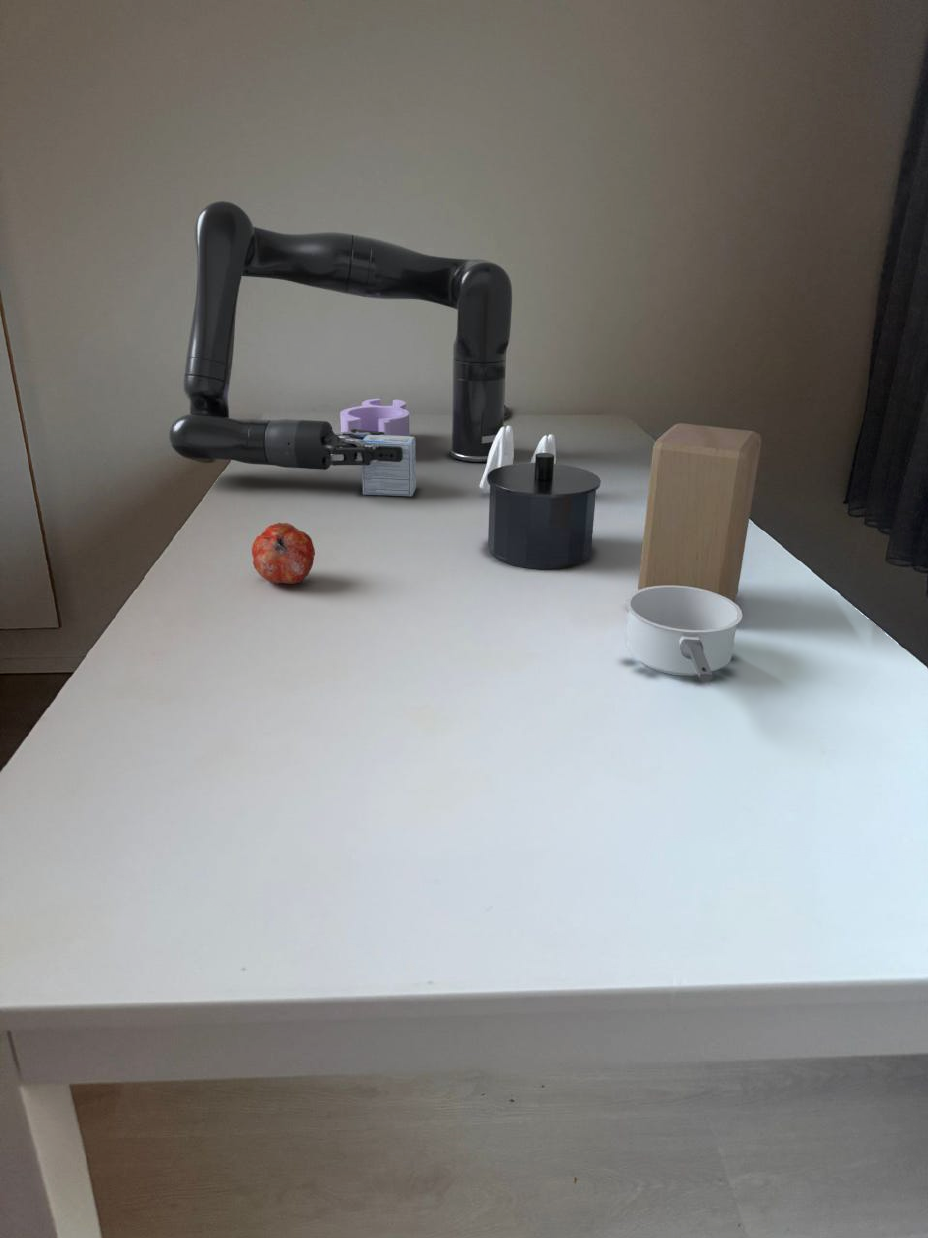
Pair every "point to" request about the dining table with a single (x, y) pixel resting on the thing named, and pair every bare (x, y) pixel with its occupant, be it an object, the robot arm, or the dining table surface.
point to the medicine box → (391, 468)
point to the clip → (377, 418)
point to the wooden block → (699, 508)
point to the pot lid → (543, 479)
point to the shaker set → (511, 453)
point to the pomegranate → (283, 554)
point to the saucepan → (681, 629)
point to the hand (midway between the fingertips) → (405, 449)
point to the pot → (540, 529)
